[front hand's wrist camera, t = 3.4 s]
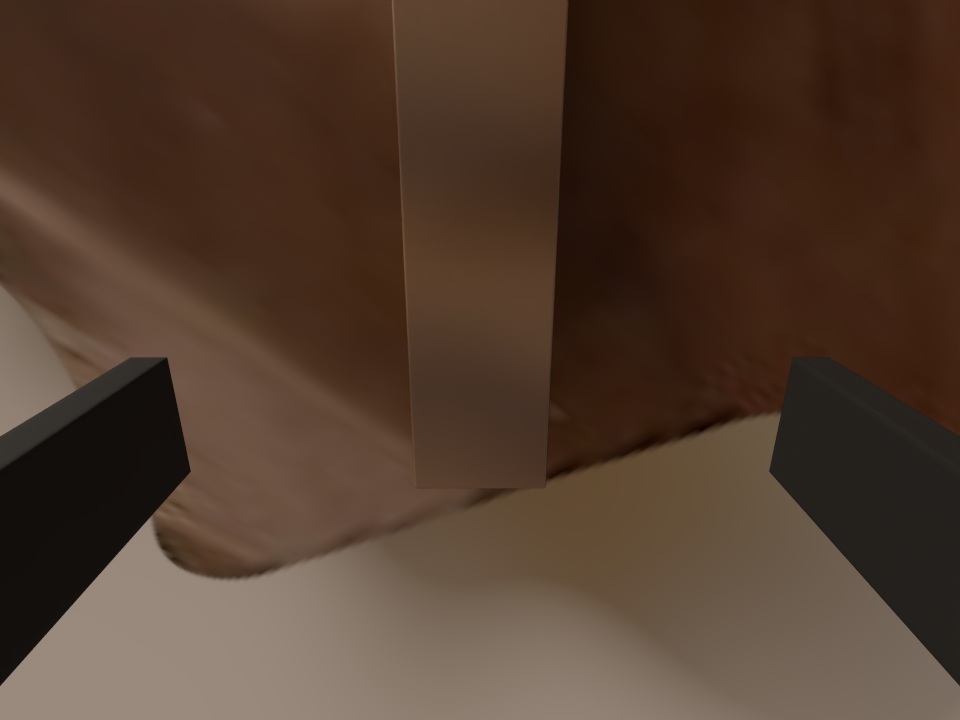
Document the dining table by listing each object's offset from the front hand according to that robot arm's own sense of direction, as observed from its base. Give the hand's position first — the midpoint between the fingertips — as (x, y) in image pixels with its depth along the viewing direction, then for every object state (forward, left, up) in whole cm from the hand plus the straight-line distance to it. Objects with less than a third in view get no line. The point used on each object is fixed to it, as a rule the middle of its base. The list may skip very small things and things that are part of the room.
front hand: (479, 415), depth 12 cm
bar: (-3, -30, -14) cm, 33 cm away
